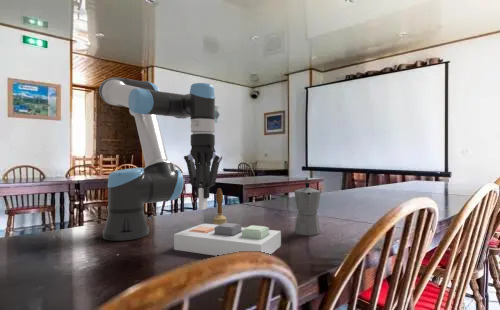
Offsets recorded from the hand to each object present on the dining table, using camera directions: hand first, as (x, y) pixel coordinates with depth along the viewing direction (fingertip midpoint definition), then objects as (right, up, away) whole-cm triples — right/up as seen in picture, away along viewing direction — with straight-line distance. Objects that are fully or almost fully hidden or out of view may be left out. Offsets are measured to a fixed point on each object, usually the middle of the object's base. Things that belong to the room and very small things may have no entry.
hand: (203, 208), depth 99 cm
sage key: (+16, -8, -7) cm, 19 cm away
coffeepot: (+36, -11, +16) cm, 41 cm away
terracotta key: (0, -10, 0) cm, 10 cm away
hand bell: (+4, -12, +16) cm, 20 cm away
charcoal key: (+8, -8, -4) cm, 12 cm away
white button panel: (+8, -11, -4) cm, 14 cm away
